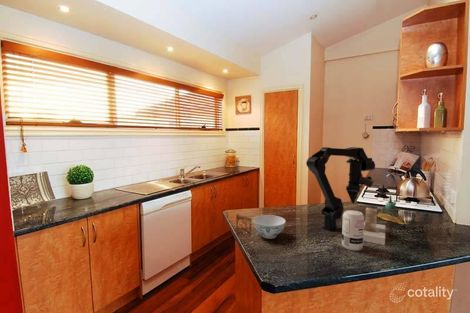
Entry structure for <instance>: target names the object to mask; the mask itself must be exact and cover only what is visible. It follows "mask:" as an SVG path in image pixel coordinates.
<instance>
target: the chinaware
mask: <svg viewBox="0 0 470 313" xmlns="http://www.w3.org/2000/svg"><path fill="white" fill-rule="evenodd" d="M253 224H254V227H255V229H256V230H257V232H258V233H259V234H260V235H261V236H262V237H263V238H264V239H270V240H271V239H275V238H277V236H278V235H279V234H281V233H282V232H283V230H284V229H285V226H286V219H285V218H284V217H281V216H278V215H273V214H261V215H258V216H255V217H254V218H253Z"/></svg>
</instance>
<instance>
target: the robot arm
mask: <svg viewBox="0 0 470 313" xmlns="http://www.w3.org/2000/svg"><path fill="white" fill-rule="evenodd" d="M331 156H338V157H339V156H340V157H341V156H342V157H346V158H348V160H346V161H345V162H346V163H347V164H349V170H348V171H349V172H348V177H349V178H348V184H347V185H346V186H345V191H346V192H347V195H348V197H349V199H350V201H351V203H352V204H355V202H356V200H357V198H358V194H359V193H360V192H361V188H362V187H363V186H366V187H368V188H372V186H373V184H374V182H375V180H374V179H373V178H372V176H369V175H368V176H367V177H366V176H364V175H363V172H367V171H368V172H369V171H370V172H371V171H374V170H375V168H376V163H375V161H374V160H373V157H368V155H367V154H366V151H365V149H364V148H363V147H354V146H351V147H346V148H335V147H328V146H326V147H325V146H324V147H322V148H321V149H319V150H318V151H317V152H315V153H313V154H312V155H311V156H310V157H308V159H307V160H306V162H305V164H306V167H307V168H308V169H309V171H310V172H311V173H312V174H313V175H314V176H315V178H316V181H317V183H318V185H319V188H320V190H321V192H322V195H323V197H324V207H323V208H322V209H321V210H320V213H321V215H323V216H324V217H323V218H324V219H323V221H324V222H323V225H322V226H321V228H322V229H325V230H327V231H330V232H335V231H338V230H340V227H339V226H338V220H341V217H342V216H343V213H344V203H343V201H342V198H340V197H336V196H335V193H334V190H333V189H332V186H331V183H330V181H329V180H328V177H327V174H326V168H327V167H326V164H327V163H328V161H329V159H330V157H331Z"/></svg>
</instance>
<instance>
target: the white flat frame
mask: <svg viewBox="0 0 470 313" xmlns="http://www.w3.org/2000/svg"><path fill="white" fill-rule="evenodd" d="M363 242H367V243H373V244H377V245H383V246H385V244H386V225H385V224H378V223H376V233H375V232H369V231H365V221H364V235H363Z"/></svg>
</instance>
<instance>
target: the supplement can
mask: <svg viewBox="0 0 470 313" xmlns="http://www.w3.org/2000/svg"><path fill="white" fill-rule="evenodd" d="M364 222H365V216H364V214H363V212H361V211H359V210H353V209H351V210H350V209H347V210H345V211H343V213H342V225H341V226H342V228H341V231H342V232H341V245H342V247H343V248H344V249H347V250H349V251H357V252H358V251H361V250H362V249H363V248H364V241H363V235H364Z"/></svg>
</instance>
